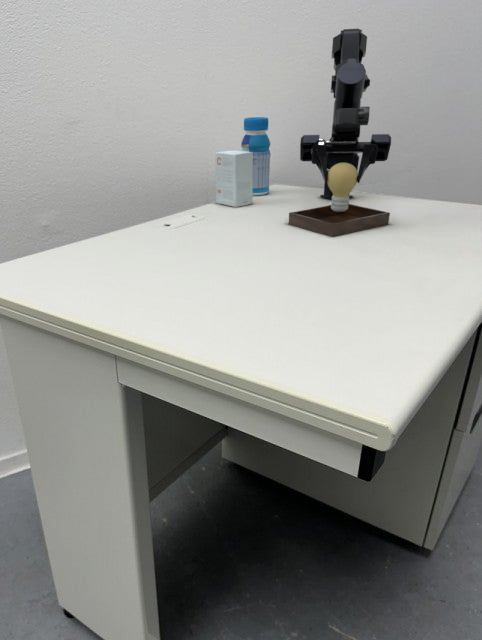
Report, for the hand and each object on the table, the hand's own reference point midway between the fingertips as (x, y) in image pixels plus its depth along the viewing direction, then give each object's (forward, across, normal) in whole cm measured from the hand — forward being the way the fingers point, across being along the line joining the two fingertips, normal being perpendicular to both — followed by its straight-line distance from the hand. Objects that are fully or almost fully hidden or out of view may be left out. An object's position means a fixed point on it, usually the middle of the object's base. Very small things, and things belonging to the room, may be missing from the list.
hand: (341, 181), depth 116 cm
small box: (-10, -27, +25) cm, 38 cm away
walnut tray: (+4, 0, +10) cm, 11 cm away
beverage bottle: (-21, -23, +36) cm, 47 cm away
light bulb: (+4, 0, +6) cm, 7 cm away
